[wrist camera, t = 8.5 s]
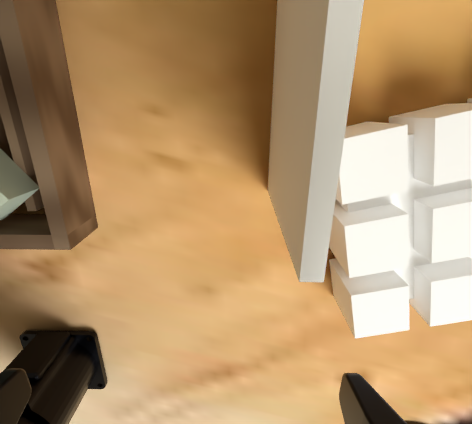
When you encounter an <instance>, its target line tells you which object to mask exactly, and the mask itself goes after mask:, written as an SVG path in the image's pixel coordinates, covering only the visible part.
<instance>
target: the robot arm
mask: <svg viewBox="0 0 472 424" xmlns="http://www.w3.org/2000/svg"><path fill="white" fill-rule="evenodd" d="M20 340H21V343H22V346H23V350H22V351H21V352H20V353H19V354H18V355H17V356H16V358H15V359H14V360H13V361H12V362H11V363H10V364H9V365H8V366H7V367H6V369H5V370H4V371H3V372H1V373H0V424H69V422H70V420H71V418H72V417H73V415H74V413H75V411H76V409H77V407H78V406H79V404H80V402H81V400H82V398H83V396H84V395H85V393H86V391H87V389H103V388H105V386H106V384H107V378H106V373H105V369H104V364H103V360H102V355H101V351H100V346H99V342H98V337H97V334H96V333H94V332H92V331H24V332H23V333H22V334H21V335H20ZM339 400H340V405H341V409H342V413H343V418H344V422H345V424H407V423H406V422H405V421H404V420H403V419H402V418H401V417H400V416H399V415H398V414H397V413H396V412H395V411H394V410H393V409H392V407H391V406H390V405H389V404H388V403H387V402H386V401H385V400H384V399H383V398H382V397H381V396H380V395H379V394H378V393H377V392H376V391H375V390H374V389H373V388H372V387H371V386H370V384H369V383H368V382H367V381H366V380H365V379H364V378H363V377H362V376H361V375H359V374H357V373H345V374H344V375H343V377H342V382H341V387H340V392H339Z"/></svg>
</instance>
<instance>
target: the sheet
mask: <svg viewBox="0 0 472 424" xmlns="http://www.w3.org/2000/svg"><path fill="white" fill-rule="evenodd" d="M363 4H364V0H277V17H276V36H275V56H274V76H273V95H272V115H271V135H270V154H269V174H268V193H269V196H270V199H271V202H272V205H273V207H274V210H275V213H276V216H277V219H278V222H279V225H280V228H281V230H282V233H283V236H284V239H285V242H286V245H287V248H288V251H289V253H290V256H291V259H292V262H293V265H294V268H295V271H296V274H297V277H298V279H299V282H324V277H325V270H326V263H327V256H328V249H329V242H330V235H331V228H332V221H333V214H334V207H335V200H336V193H337V186H338V179H339V172H340V165H341V158H342V151H343V144H344V137H345V130H346V123H347V116H348V109H349V102H350V95H351V88H352V81H353V74H354V67H355V60H356V53H357V46H358V39H359V32H360V25H361V18H362V11H363Z"/></svg>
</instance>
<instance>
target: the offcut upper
mask: <svg viewBox="0 0 472 424" xmlns="http://www.w3.org/2000/svg"><path fill="white" fill-rule="evenodd" d="M38 189H39V186H38V185H37V184H36V183H35V182H34V181H33V180H32V179H31V178H30V177H29V176H28V175H27V174H26V173H25V172H24V171H23V170H22V169H21V168H20V167H19V166H18V165H17V164H16V163H15V162H14V161H13V160H12V159H11V158H10V157H9V156H8V155H7V154H6V153H5V152H4V151H3V150H2V149H1V148H0V220H2V219H4V218H6V217H7V216H8V215H10V214H11V213H12V212H13V211H14V210H15V209H16V208H18V207H19V206H20V205H21V204H22V203H23V202H24V201H26V200H27V199H28V198H29V197H30V196H31V195H32V194H34V193H35V192H36V191H37V190H38Z"/></svg>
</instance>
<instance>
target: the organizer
mask: <svg viewBox="0 0 472 424" xmlns="http://www.w3.org/2000/svg"><path fill="white" fill-rule="evenodd" d="M329 248H330V250H331V251H332V253H333V254H334V256H335V257H336V258H334V259H329V264H330V272H331V280H332V288H333V296H334V298H335V300H336V302H337V304H338V306H339V308H340V310H341V312H342V314H343V316H344V318H345V320H346V322H347V324H348V326H349V328H350V329H351V331H352V333H353V335H354V337H355V338H362V337H368V336H374V335H380V334H387V333H393V332H399V331H406V330H409V303H410V305H411V306H412V307H413V308H414V309H415V310H416V311H417V312H418V313H419V315H420V316H421V317H422V318H423V319H424V320H425V321H426V322H427V324H428V325H429V326H430V327H431V326H437V325H443V324H450V323H456V322H462V321H468V320H472V98H469V99H467V103H456V104H443V105H438V106H434V107H430V108H425V109H421V110H416V111H412V112H408V113H403V114H399V115H394V116H390V117H389V123H380V122H364V123H359V124H355V125H350V126H346V130H345V137H344V144H343V151H342V158H341V165H340V172H339V179H338V186H337V193H336V200H335V207H334V214H333V221H332V228H331V235H330V242H329Z"/></svg>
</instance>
